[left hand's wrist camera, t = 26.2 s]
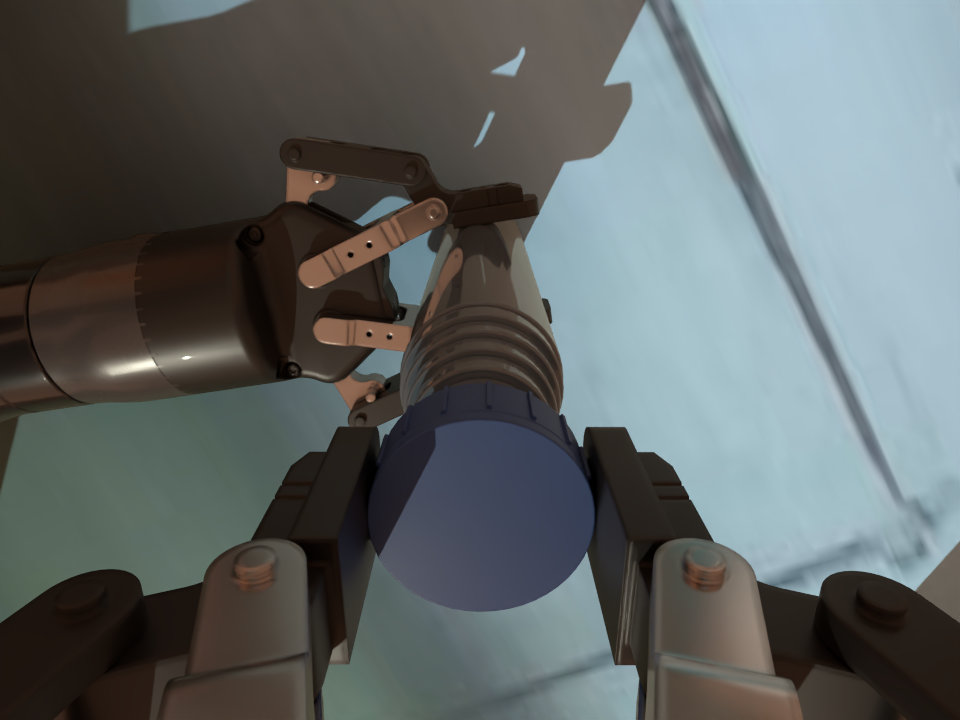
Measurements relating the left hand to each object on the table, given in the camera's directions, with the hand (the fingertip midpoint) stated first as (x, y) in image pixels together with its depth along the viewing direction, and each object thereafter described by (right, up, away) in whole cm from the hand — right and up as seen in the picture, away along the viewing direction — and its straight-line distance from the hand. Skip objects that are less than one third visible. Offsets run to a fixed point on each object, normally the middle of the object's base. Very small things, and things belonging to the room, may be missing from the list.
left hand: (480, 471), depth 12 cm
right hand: (+3, +7, +16) cm, 18 cm away
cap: (0, 0, -1) cm, 1 cm away
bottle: (0, +9, +23) cm, 24 cm away
